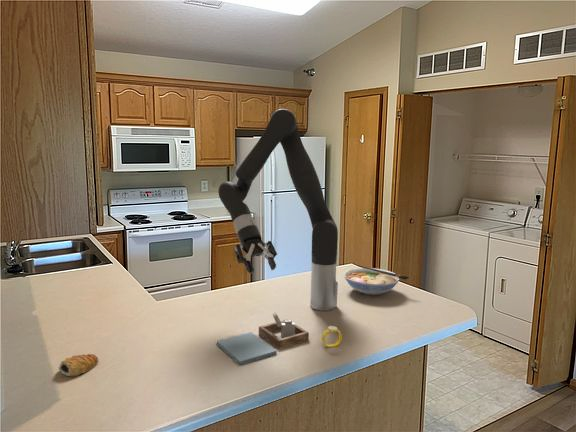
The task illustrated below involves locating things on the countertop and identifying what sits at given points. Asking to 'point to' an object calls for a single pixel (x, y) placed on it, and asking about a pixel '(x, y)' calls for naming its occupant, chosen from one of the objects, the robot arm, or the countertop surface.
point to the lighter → (285, 326)
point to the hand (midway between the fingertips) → (263, 270)
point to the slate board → (246, 348)
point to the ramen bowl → (372, 280)
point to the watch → (332, 329)
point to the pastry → (78, 364)
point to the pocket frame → (299, 337)
